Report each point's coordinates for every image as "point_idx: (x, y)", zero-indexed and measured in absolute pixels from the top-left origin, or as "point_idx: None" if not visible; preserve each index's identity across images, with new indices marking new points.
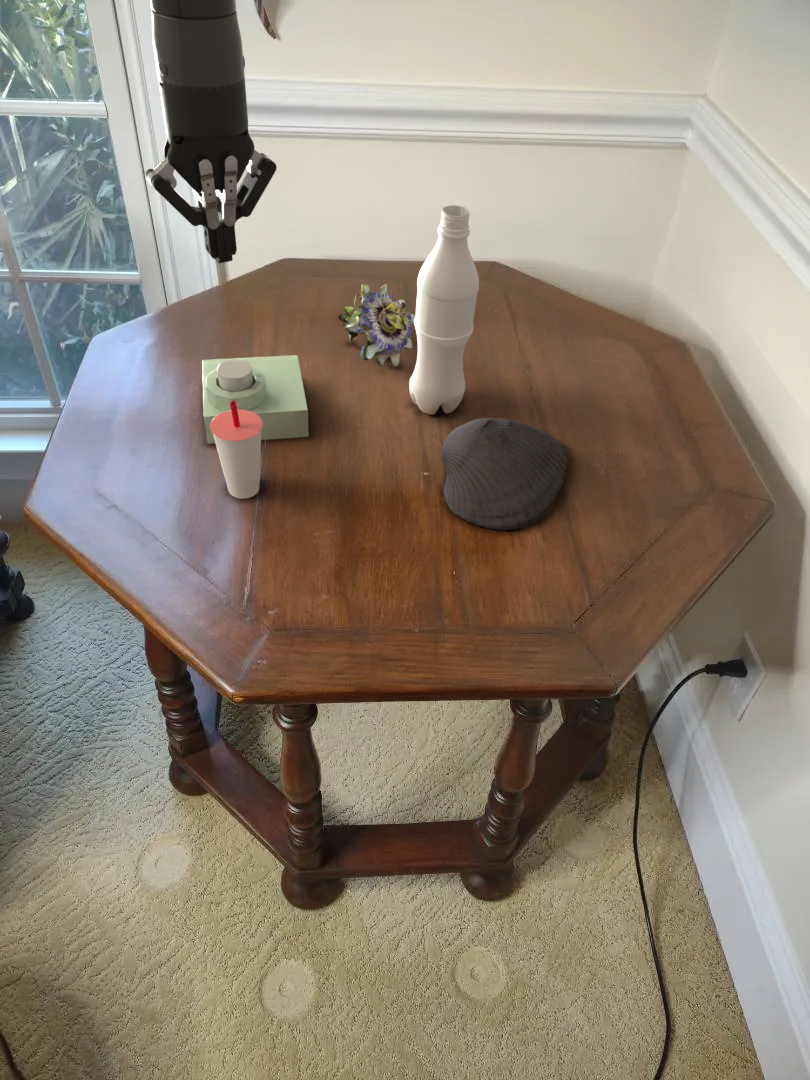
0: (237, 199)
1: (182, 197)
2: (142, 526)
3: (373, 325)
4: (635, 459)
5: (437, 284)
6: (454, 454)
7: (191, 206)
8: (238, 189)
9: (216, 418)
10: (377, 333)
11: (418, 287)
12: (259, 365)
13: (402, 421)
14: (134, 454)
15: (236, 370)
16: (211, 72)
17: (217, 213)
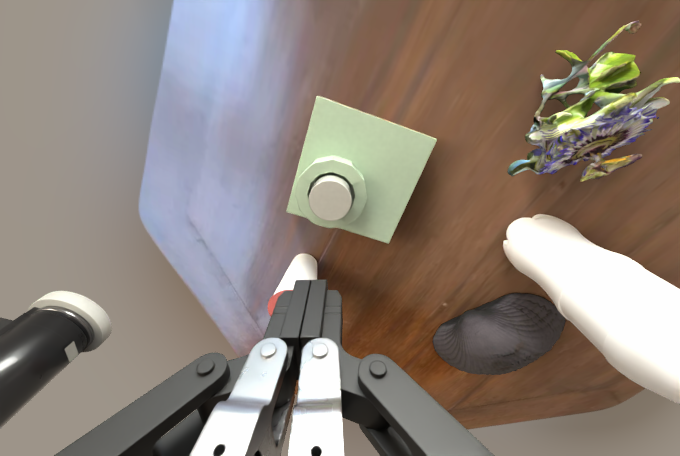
0: (372, 406)
1: (169, 429)
2: (221, 268)
3: (561, 158)
4: (596, 351)
5: (628, 374)
6: (464, 343)
7: (212, 401)
8: (390, 420)
9: (277, 295)
10: (554, 164)
11: (614, 329)
12: (380, 142)
13: (476, 243)
14: (224, 184)
15: (331, 205)
16: None
17: (286, 425)
